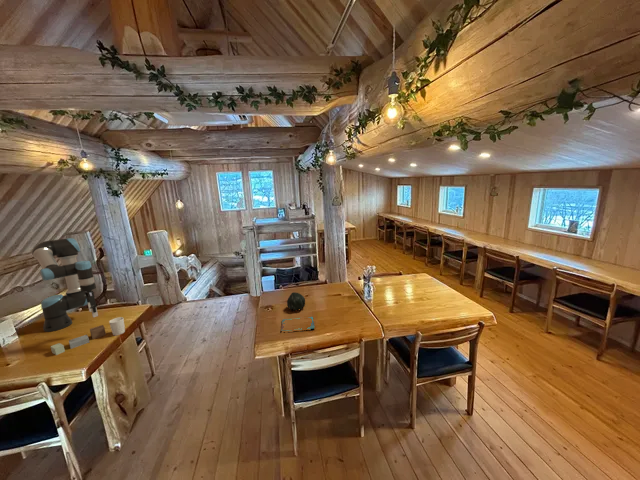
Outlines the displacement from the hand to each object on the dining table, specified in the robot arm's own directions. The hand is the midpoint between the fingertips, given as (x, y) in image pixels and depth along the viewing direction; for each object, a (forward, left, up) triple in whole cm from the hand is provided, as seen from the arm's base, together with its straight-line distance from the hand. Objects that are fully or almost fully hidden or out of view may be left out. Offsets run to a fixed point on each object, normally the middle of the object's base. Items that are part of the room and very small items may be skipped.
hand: (93, 313), depth 174 cm
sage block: (+4, -20, -17) cm, 26 cm away
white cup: (+7, +10, -17) cm, 21 cm away
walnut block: (0, 0, -17) cm, 17 cm away
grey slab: (+2, -10, -17) cm, 20 cm away
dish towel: (+101, +94, -17) cm, 139 cm away
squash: (+81, +112, -17) cm, 139 cm away
